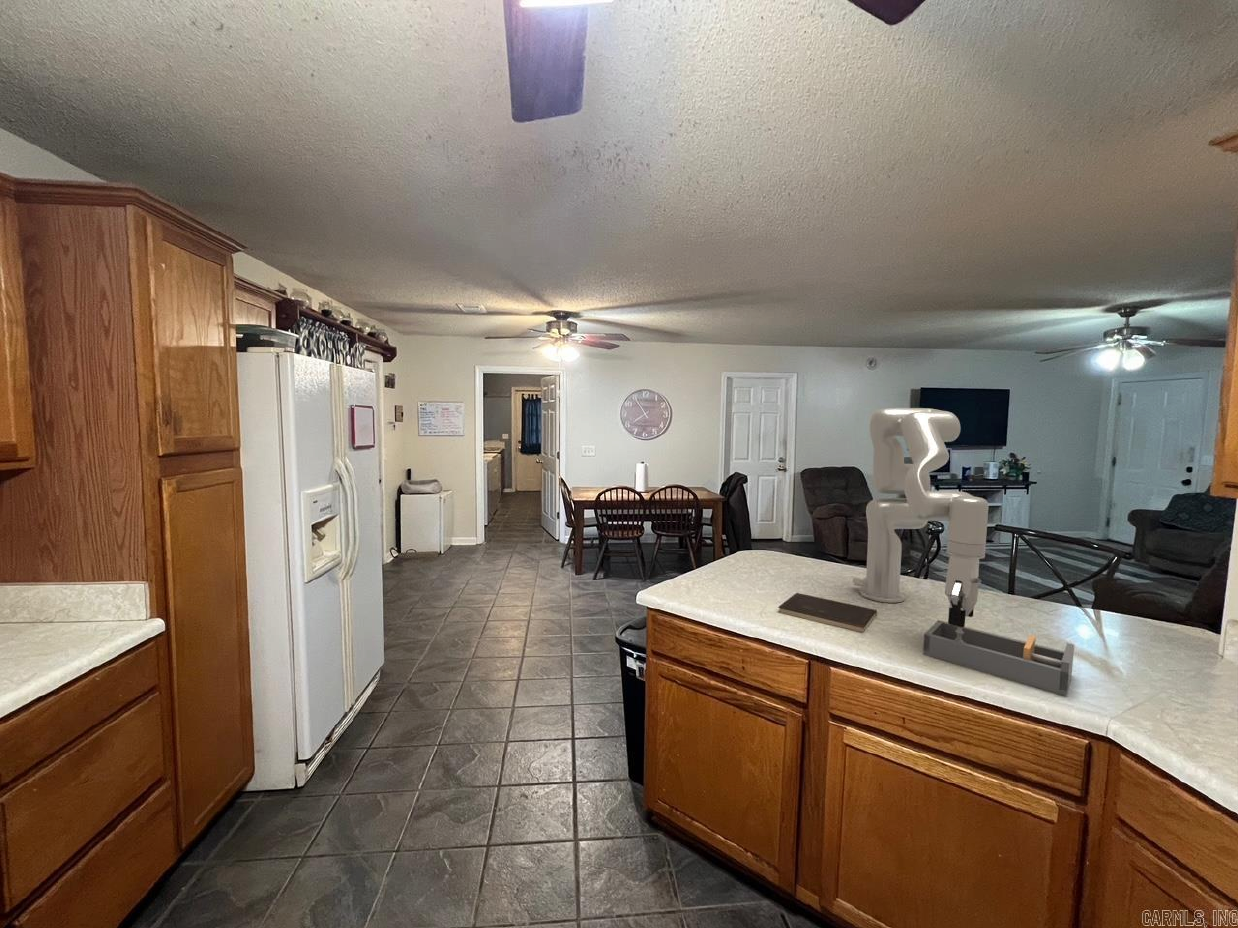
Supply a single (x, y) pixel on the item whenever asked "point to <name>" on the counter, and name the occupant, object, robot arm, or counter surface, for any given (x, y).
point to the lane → (1000, 656)
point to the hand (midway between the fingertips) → (960, 619)
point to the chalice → (967, 605)
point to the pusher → (1030, 655)
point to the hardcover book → (829, 612)
